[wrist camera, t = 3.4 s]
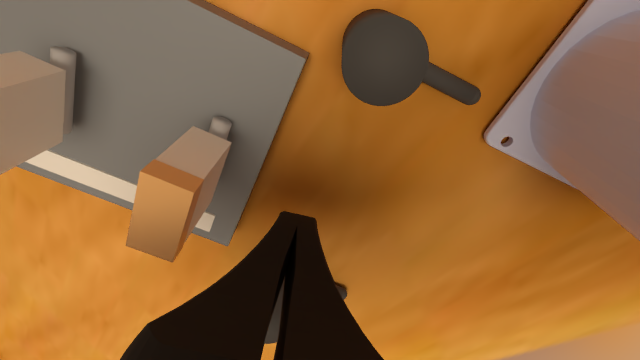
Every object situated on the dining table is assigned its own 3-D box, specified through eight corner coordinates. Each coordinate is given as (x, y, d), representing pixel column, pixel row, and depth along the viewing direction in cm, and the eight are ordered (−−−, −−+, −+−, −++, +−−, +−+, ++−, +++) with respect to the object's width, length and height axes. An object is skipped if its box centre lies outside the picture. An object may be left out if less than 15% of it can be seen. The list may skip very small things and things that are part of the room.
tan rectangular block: (243, 126, 14) (195, 188, 10) (220, 188, 16) (171, 265, 11) (207, 110, 14) (141, 166, 9) (188, 175, 16) (125, 249, 11)
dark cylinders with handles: (507, 77, 14) (570, 109, 10) (337, 302, 22) (336, 368, 18) (360, -4, 13) (367, -2, 9) (237, 265, 21) (213, 327, 17)
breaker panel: (309, 52, 14) (305, 59, 13) (235, 229, 19) (227, 247, 18) (-145, -174, 11) (-213, -198, 10) (-86, 104, 16) (-125, 114, 15)
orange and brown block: (91, 58, 13) (-41, 93, 9) (85, 133, 15) (-27, 194, 10) (49, 40, 13) (-110, 65, 8) (48, 118, 14) (-85, 174, 10)
